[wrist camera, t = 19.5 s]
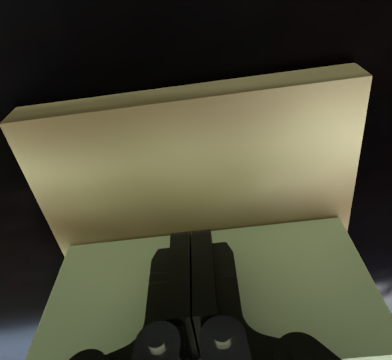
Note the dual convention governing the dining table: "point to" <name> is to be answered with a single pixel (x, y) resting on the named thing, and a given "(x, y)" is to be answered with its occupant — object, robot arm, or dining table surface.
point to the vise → (195, 155)
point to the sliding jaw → (248, 289)
